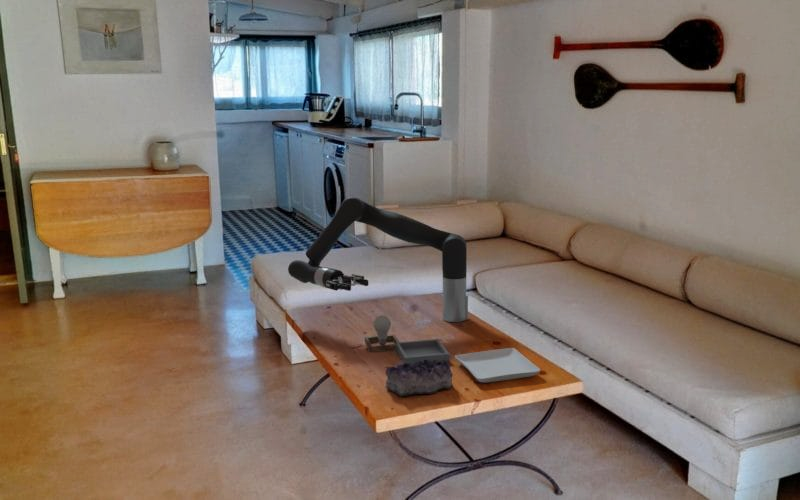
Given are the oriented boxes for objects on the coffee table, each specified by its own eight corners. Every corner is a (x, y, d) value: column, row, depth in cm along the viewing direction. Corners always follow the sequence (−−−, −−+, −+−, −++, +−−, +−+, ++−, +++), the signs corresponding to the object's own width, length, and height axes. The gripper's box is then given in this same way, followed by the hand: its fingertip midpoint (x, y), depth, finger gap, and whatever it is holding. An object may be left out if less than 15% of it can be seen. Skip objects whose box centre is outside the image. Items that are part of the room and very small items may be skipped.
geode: (443, 377, 220) (446, 348, 216) (457, 396, 209) (460, 366, 206) (381, 383, 213) (383, 354, 210) (392, 403, 203) (394, 372, 200)
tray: (438, 347, 246) (437, 339, 245) (449, 362, 231) (449, 353, 231) (395, 350, 243) (395, 342, 242) (405, 366, 228) (405, 357, 228)
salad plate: (477, 388, 211) (477, 378, 210) (453, 363, 231) (453, 354, 230) (542, 380, 217) (542, 369, 216) (513, 356, 237) (513, 347, 236)
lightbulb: (390, 348, 245) (390, 318, 243) (373, 348, 245) (372, 318, 243) (391, 342, 251) (390, 313, 249) (374, 342, 251) (373, 313, 249)
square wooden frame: (394, 339, 255) (394, 334, 254) (401, 349, 244) (400, 344, 244) (364, 341, 252) (364, 336, 252) (369, 352, 242) (369, 347, 242)
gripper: (314, 272, 257) (344, 279, 246) (343, 265, 267) (373, 271, 256) (314, 291, 258) (344, 299, 247) (343, 284, 268) (373, 291, 257)
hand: (359, 285), depth 252 cm, fingers open, 8 cm apart
